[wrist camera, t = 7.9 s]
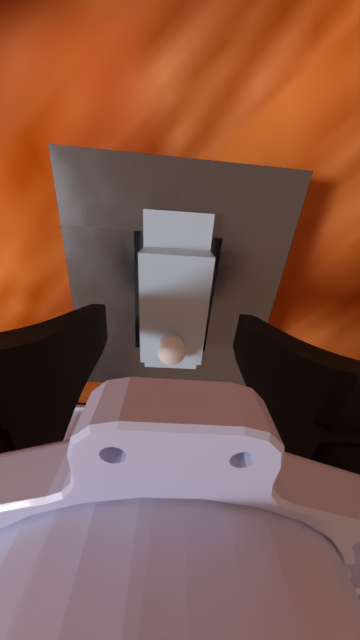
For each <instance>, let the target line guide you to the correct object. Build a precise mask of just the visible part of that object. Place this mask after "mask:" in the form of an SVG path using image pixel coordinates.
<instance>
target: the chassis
mask: <svg viewBox="0 0 360 640" xmlns="http://www.w3.org/2000/svg"><path fill="white" fill-rule="evenodd" d="M49 151H50V157H51V164H52V170H53V177H54V184H55V190H56V197H57V203H58V210H59V217H60V223H61V230H62V236H63V243H64V250H65V256H66V263H67V269H68V276H69V282H70V289H71V296H72V302H73V309H74V310H76V309H79V308H81V307H84V306H87V305H90V304H104V305H105V308H106V321H107V334H108V339H107V342H106V345H105V348H104V350H103V353H102V355H101V357H100V359H99V361H98V362H97V364H96V366H95V368H94V370H93V372H92V373H91V375H90V377H89V379H88V381H87V382H106V381H107V380H112V379H119V378H126V377H144V378H162V379H180V380H199V381H217V382H232V383H235V384H239V385H243V386H246V385H245V382H244V380H243V377H242V375H241V372H240V370H239V367H238V365H237V362H236V359H235V355H234V350H233V342H234V337H235V333H236V329H237V324H238V320H239V315H240V314H247V315H253V316H256V317H258V318H260V319H261V320H263V321H265V322H267V323H268V321H269V317H270V314H271V311H272V307H273V304H274V301H275V297H276V294H277V290H278V287H279V284H280V280H281V277H282V274H283V270H284V267H285V264H286V260H287V257H288V254H289V250H290V247H291V244H292V240H293V237H294V234H295V230H296V227H297V224H298V220H299V217H300V213H301V210H302V207H303V203H304V200H305V197H306V193H307V190H308V187H309V183H310V180H311V177H312V173H313V171H308V170H298V169H288V168H278V167H269V166H259V165H249V164H240V163H230V162H220V161H210V160H201V159H191V158H181V157H171V156H162V155H152V154H142V153H133V152H123V151H113V150H103V149H94V148H84V147H74V146H64V145H55V144H49ZM143 209H153V210H167V211H181V212H195V213H209V214H215V218H214V226H213V234H212V242H211V250H210V251H211V253H212V254H213V255H214V256H215V265H214V272H213V280H212V287H211V294H210V302H209V309H208V317H207V324H206V331H205V339H204V346H203V353H202V361H201V365H196V369H182V368H160V367H145V363H143V362H140V324H139V278H138V252H139V251H140V250H141V249H142V248H143Z"/></svg>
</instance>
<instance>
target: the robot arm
mask: <svg viewBox="0 0 360 640" xmlns="http://www.w3.org/2000/svg"><path fill="white" fill-rule="evenodd" d="M107 339H108V334H107V321H106V308H105V305H104V304H90V305H87V306H84V307H81V308H79V309H76V310H74V311H71V312H69V313H67V314H64V315H61V316H58V317H56V318H53V319H50V320H47V321H44V322H41V323H38V324H35V325H31V326H27V327H23V328H19V329H14V330H9V331H4V332H0V640H360V361H359V360H355V359H352V358H348V357H345V356H341V355H338V354H335V353H332V352H329V351H326V350H323V349H321V348H318V347H315V346H313V345H311V344H308V343H306V342H303V341H301V340H299V339H297V338H295V337H293V336H291V335H289V334H287V333H285V332H283V331H281V330H279V329H277V328H276V327H274V326H272V325H270V324H269V323H267V322H265V321H263V320H261V319H260V318H258V317H256V316H253V315H247V314H240V315H239V320H238V324H237V329H236V333H235V337H234V342H233V350H234V355H235V359H236V362H237V365H238V367H239V370H240V372H241V375H242V377H243V380H244V382H245V385H246V386H243V385H239V384H235V383H232V382H217V381H199V380H180V379H162V378H144V377H126V378H119V379H112V380H107V381H106V382H104V383H103V384H102V385H100V386H99V387H98V388H96V389H95V390H94V391H92V392H91V395H90V397H89V399H88V401H87V403H86V405H77V402H78V400H79V397H80V395H81V393H82V390H83V388H84V386H85V384H86V383H87V381H88V379H89V377H90V375H91V373H92V372H93V370H94V368H95V366H96V364H97V362H98V361H99V359H100V357H101V355H102V353H103V350H104V348H105V345H106V342H107Z"/></svg>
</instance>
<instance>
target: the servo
mask: <svg viewBox="0 0 360 640" xmlns="http://www.w3.org/2000/svg"><path fill="white" fill-rule="evenodd" d="M214 218H215V214H209V213H195V212H181V211H167V210H153V209H143V248H142V249H141V250H140V251H139V252H138V278H139V324H140V362H143V363H145V367H160V368H182V369H196V365H201V361H202V353H203V346H204V339H205V331H206V324H207V317H208V309H209V302H210V294H211V287H212V280H213V272H214V265H215V256H214V255H213V254H212V253H211V251H210V250H211V242H212V234H213V226H214Z"/></svg>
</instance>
